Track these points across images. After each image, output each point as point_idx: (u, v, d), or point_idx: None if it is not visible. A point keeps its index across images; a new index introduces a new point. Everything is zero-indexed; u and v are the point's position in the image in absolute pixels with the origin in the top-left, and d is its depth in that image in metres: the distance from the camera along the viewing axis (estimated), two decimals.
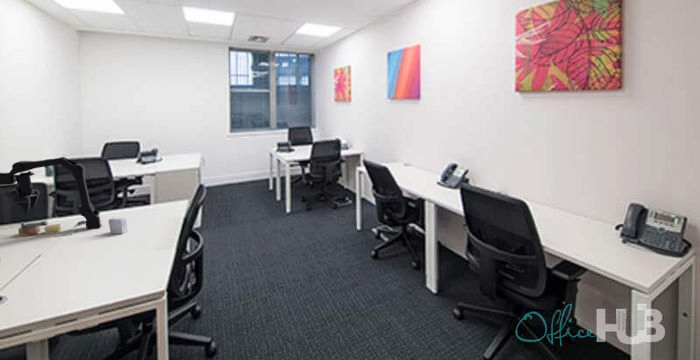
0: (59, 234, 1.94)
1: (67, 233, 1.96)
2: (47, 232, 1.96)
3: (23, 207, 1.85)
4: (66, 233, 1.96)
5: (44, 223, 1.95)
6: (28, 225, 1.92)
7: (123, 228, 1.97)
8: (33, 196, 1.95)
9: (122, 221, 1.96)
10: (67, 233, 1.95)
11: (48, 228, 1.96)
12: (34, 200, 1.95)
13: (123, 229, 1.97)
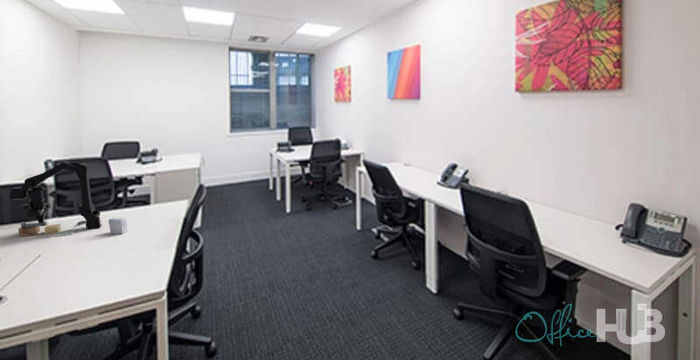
0: (59, 234, 1.94)
1: (67, 233, 1.96)
2: (47, 232, 1.96)
3: (38, 219, 1.95)
4: (66, 233, 1.96)
5: (44, 223, 1.95)
6: (28, 225, 1.92)
7: (123, 228, 1.97)
8: (42, 212, 1.96)
9: (122, 221, 1.96)
10: (67, 233, 1.95)
11: (48, 228, 1.96)
12: None
13: (123, 229, 1.97)
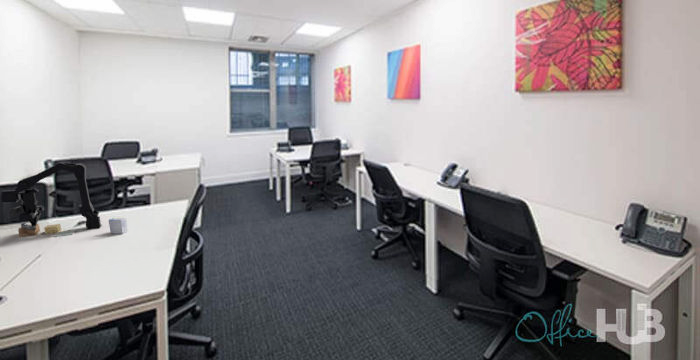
0: (59, 234, 1.94)
1: (67, 233, 1.96)
2: (47, 232, 1.96)
3: (31, 222, 1.90)
4: (66, 233, 1.96)
5: (30, 228, 1.87)
6: (24, 226, 1.90)
7: (123, 228, 1.97)
8: (35, 214, 1.91)
9: (122, 221, 1.96)
10: (67, 233, 1.95)
11: (48, 228, 1.96)
12: None
13: (123, 229, 1.97)
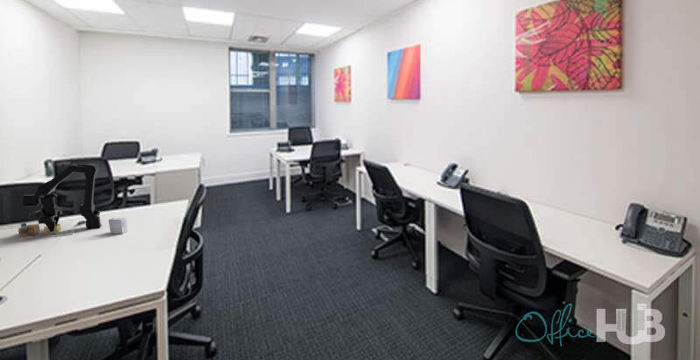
0: (59, 234, 1.94)
1: (67, 233, 1.96)
2: (47, 232, 1.96)
3: (49, 226, 1.94)
4: (66, 233, 1.96)
5: (22, 229, 1.85)
6: (21, 226, 1.90)
7: (123, 228, 1.97)
8: (55, 217, 2.00)
9: (122, 221, 1.96)
10: (67, 233, 1.95)
11: (47, 228, 1.96)
12: (56, 221, 2.00)
13: (123, 229, 1.97)
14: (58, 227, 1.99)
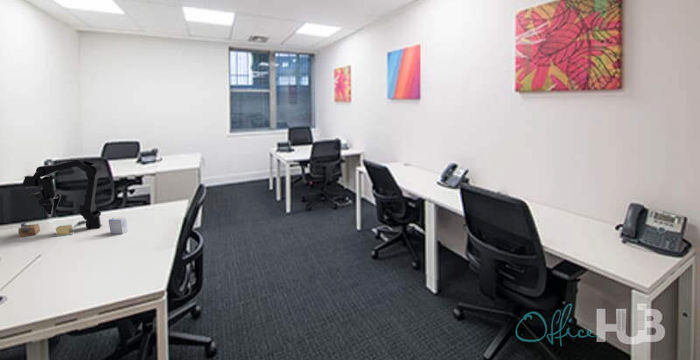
0: None
1: None
2: (58, 233, 1.93)
3: (47, 209, 1.94)
4: None
5: (22, 229, 1.85)
6: (21, 226, 1.90)
7: (123, 228, 1.97)
8: (55, 198, 2.04)
9: (122, 221, 1.96)
10: None
11: (59, 229, 1.93)
12: (56, 202, 2.04)
13: (123, 229, 1.97)
14: (70, 228, 1.96)
